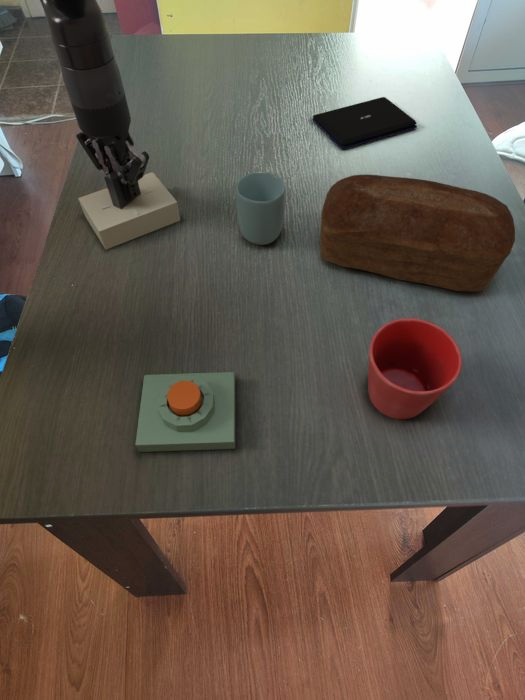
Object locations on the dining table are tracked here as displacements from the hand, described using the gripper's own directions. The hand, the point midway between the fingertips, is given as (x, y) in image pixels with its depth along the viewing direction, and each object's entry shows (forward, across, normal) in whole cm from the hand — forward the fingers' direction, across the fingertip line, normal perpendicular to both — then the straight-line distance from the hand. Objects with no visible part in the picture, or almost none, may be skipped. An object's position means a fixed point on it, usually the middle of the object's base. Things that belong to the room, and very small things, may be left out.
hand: (126, 196), depth 79 cm
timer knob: (+1, 0, 0) cm, 1 cm away
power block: (+4, -33, +25) cm, 41 cm away
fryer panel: (+5, 0, 0) cm, 5 cm away
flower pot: (+4, -54, +7) cm, 55 cm away
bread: (+5, -44, -17) cm, 48 cm away
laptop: (+5, -21, -50) cm, 54 cm away
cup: (+5, -22, -9) cm, 24 cm away
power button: (+1, -33, +25) cm, 41 cm away
